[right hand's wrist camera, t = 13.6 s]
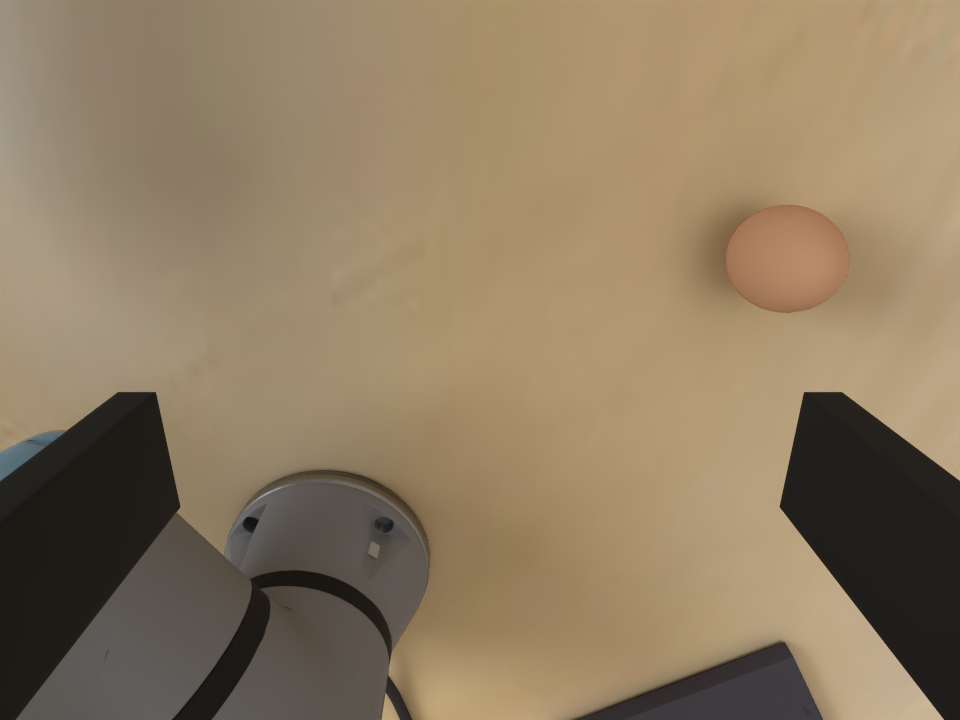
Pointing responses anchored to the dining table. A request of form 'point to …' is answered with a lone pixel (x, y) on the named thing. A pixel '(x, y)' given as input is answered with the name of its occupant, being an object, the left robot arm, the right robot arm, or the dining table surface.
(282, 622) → the right robot arm
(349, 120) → the dining table surface
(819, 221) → the egg
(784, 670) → the notebook
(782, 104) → the dining table surface
